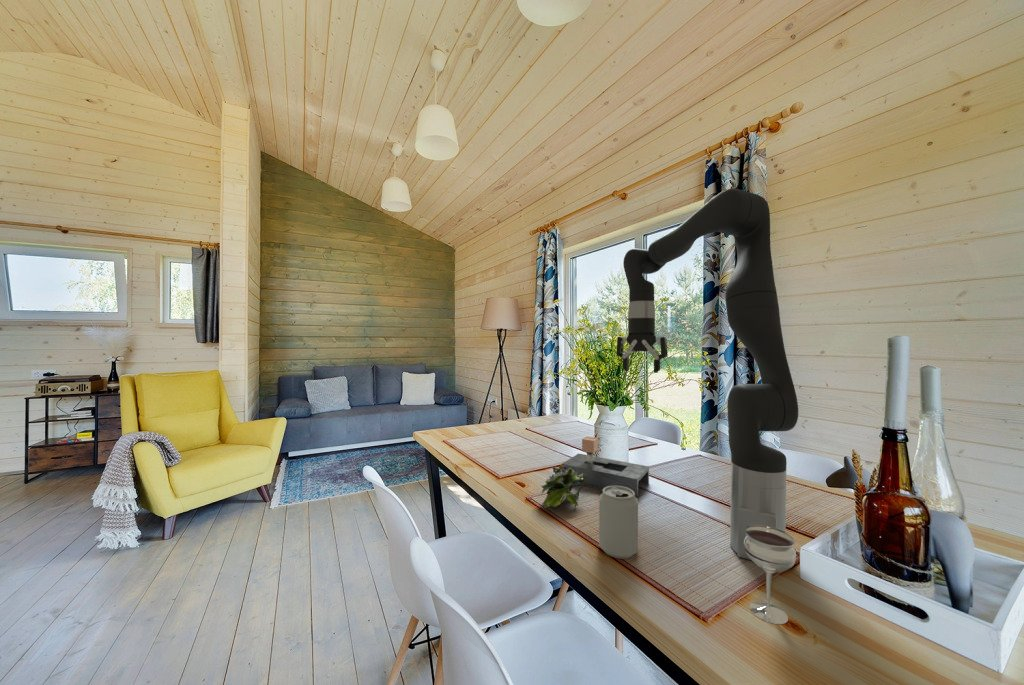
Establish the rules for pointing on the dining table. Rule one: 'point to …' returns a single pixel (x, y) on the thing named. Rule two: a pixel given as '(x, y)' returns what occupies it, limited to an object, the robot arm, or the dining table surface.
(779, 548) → the wineglass
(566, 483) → the leafy green plant
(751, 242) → the robot arm
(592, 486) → the keyhole plate
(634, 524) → the can
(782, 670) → the dining table surface
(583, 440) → the peg
